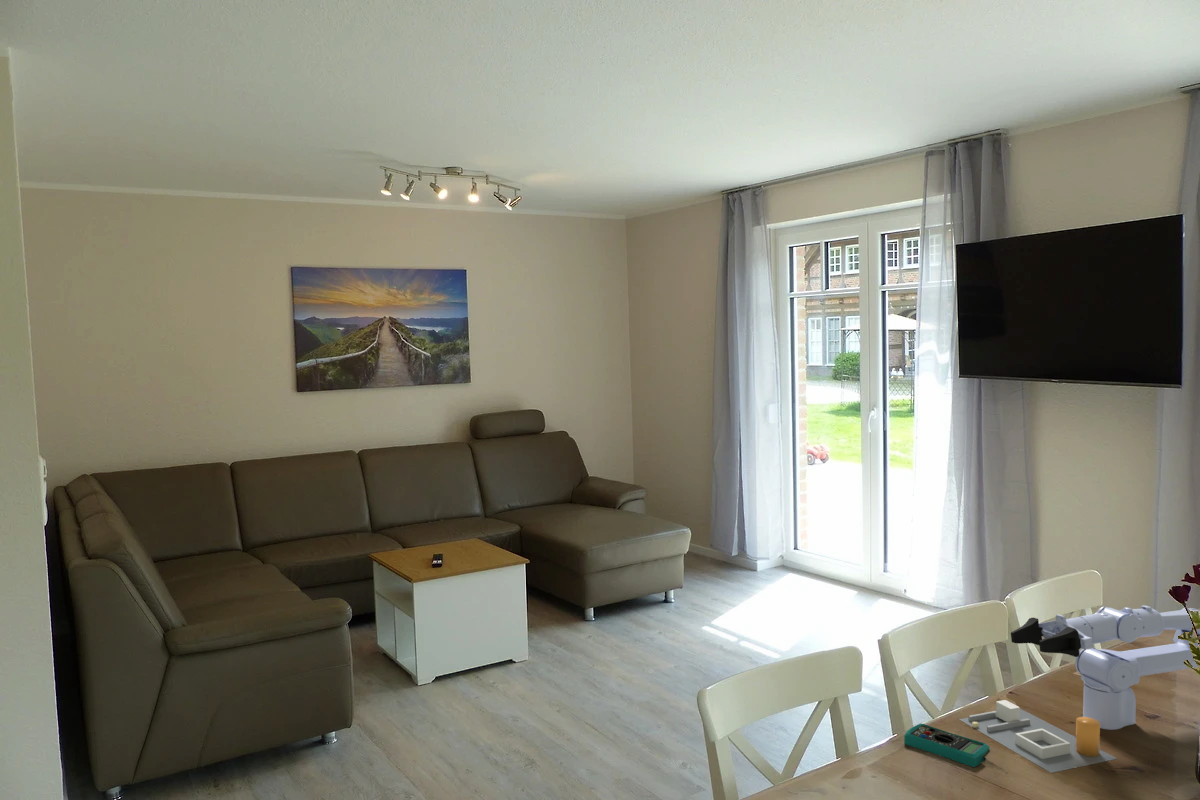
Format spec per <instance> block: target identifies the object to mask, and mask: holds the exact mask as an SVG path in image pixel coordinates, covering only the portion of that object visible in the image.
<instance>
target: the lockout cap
mask: <svg viewBox="0 0 1200 800" xmlns="http://www.w3.org/2000/svg"><path fill="white" fill-rule="evenodd" d="M1075 720H1076V721H1075V737H1076V751H1077V752H1078V753H1080V754H1082V755H1085V756H1090V757H1095V756H1098V755H1099V749H1100V745H1101V744H1100V743H1101V742H1100V738H1101V736H1100V735H1101V734H1100V733H1101V728H1100V722H1099V721H1097V720H1095V719H1092V718H1088V717H1083V716H1079V717H1076V719H1075Z"/></svg>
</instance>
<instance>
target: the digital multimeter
mask: <svg viewBox="0 0 1200 800" xmlns="http://www.w3.org/2000/svg"><path fill="white" fill-rule="evenodd" d="M903 738H904V742H903V743H904V745H906V746H909V747H912V748H915V749H918V750H922V751H925V752H927V753H931V754H934V755H938V756H940V757H942V758H945V759H949V760H952V761H955V762H957V763H959V764H963V765H965V766H968V767H972V768H976V767H978V766H979V765H981V764H982V763H984V761H986V760H987V757H985V755H986V754H987V753H988V752H989V751H990V745H988V744H987V743H985V742H983V741H979V740H977V739H976V740H975V739H973V738H968V737H965V736H962V735H958V734H956V733H952V732H949V731H946V730H942V729H939V728H937V727H934V726H931V725H928V724H925V723H919V724H917V725H914V726H912V727H910V728H909V729H908V730H906V731H905V733H904V737H903Z"/></svg>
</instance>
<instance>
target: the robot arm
mask: <svg viewBox="0 0 1200 800" xmlns="http://www.w3.org/2000/svg"><path fill="white" fill-rule="evenodd" d="M1140 607H1141V608H1131V607H1123V608H1122V609H1120V610H1119V609H1115V608H1113V607H1107V606H1106V605H1105V606H1102V607H1100V608H1098V610H1097V611H1096V612H1095V613H1092V614H1091V613H1090V614H1087V615H1081V616H1076V617H1071V618H1066V616H1065V615H1062V614H1056V615H1055V619H1054V620H1050V621H1044V622H1039V618H1036V617H1029V618H1028V619H1027V621H1026V622H1025V623H1024V624H1023V625H1021V626H1020V627H1018V628H1016V629H1014V630H1013V631H1011V632H1010V639H1011V642H1012V643H1014V644H1032V645H1035V646H1039V652H1042V653H1044V654H1045V653H1047V654H1063V655H1068V656H1072V657H1075V658H1074V665H1075V669H1076V671H1077V673H1078V674H1080V680H1081V681H1083V695H1082V696H1083V698H1082V699H1083V703H1082V717H1088V718H1092V719H1095V720H1097V721H1099V722H1100V729H1103V730H1120V729H1122V728H1124V727H1127V726H1131V725H1135V724H1136V714H1137V713H1136V710H1137V709H1136V708H1137V699H1136V694H1135V693H1134V691H1133V689H1132V688H1131V686H1134V685H1138V684H1139V683H1140V679H1141V677H1144V676H1151V675H1157V674H1164V673H1169V672H1175V671H1176V672H1177V671H1181V670H1189V669H1191V668H1188V667H1186V666H1185V665H1184V663H1183V662H1184V660H1189V661H1190V663H1191V665H1192V666H1193V667H1194V668H1193V669H1195V668H1199V667H1200V666H1197V664H1196V662H1195V661H1194V659H1193V655H1192V652H1191V650H1190V645H1189V641H1187V640H1181V639H1178V638H1177V637H1178V636H1179V635H1181V634H1183V633H1184V632H1191V630H1192V627H1193V624H1192V621H1191V619H1190V616H1189V614H1188V613H1187V611H1186V609H1185V608H1186V607H1182V609H1179V610H1177V609H1176V610H1171V611H1165V612H1159V611H1158V610H1156V609H1154V608H1153V607H1151V606H1150V605H1149V606H1148V605H1141V606H1140ZM1188 609H1189V610H1190V611H1193V612H1194V611H1200V610H1199V609H1198V608H1195V607H1194V608H1193V607H1189V608H1188ZM1164 630H1165V631H1168V630H1170V631H1173V630H1175V632H1174V636H1173V639H1172V641H1173V642H1174V643H1169V644H1163V645H1155V646H1148V647H1141V648H1135V649H1128V650H1122V651H1118V650H1113V649H1106V648H1101V649H1100V648H1095V647H1094V645H1095V644H1101V643H1105V642H1110V641H1115V640H1118V641H1121V642H1124V643H1130V644H1131V643H1133V642H1135V641H1136V640H1137V639H1139V638H1146V637H1147V638H1148V637H1158V636H1160V635H1161V634H1162V633H1163V631H1164ZM1197 635H1198V636H1200V629H1197ZM1190 637H1192V636H1191V635H1190ZM1194 644H1195V645H1196V646H1198V645H1200V644H1198V643H1194Z"/></svg>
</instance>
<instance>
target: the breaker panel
mask: <svg viewBox="0 0 1200 800" xmlns="http://www.w3.org/2000/svg"><path fill="white" fill-rule="evenodd" d="M958 720H959V721H961V722H963V723H964V724H965V725H967V726H969V727H971V728H973V729H974V730H976V731H977V732H979V733H981V734H983V735H985V736H986V737H988V738H990V739H991V740H993V741H995V742H996V743H999V744H1000V745H1001V746H1003V747H1006V748H1007V749H1009V750H1011V751H1012V752H1014V753H1015V754H1017V755H1019V756H1021V757H1023V758H1024V759H1026V760H1028V761H1030V762H1031V763H1033V764H1035V765H1037V766H1038V767H1040V768H1042V769H1044V770H1045V771H1047V772H1049V773H1050V774H1053V773H1057V772H1062V771H1063V772H1064V771H1067V770H1072V769H1076V768H1082V767H1086V766H1090V765H1091V766H1092V765H1094V764H1100V763H1105V762H1110V761H1113V760H1114V761H1115V760H1118V758H1117V757H1115V756H1114V755H1112V754H1109V753H1108V752H1106V751H1104V750H1102V749H1100V748H1099V755H1098V756H1095V757H1090V756H1085V755H1082V754H1080V753H1078V752H1077V751H1076V735H1073V734H1071V733H1069V732H1066V731H1065V730H1063V729H1061V728H1059V727H1057V726H1055V725H1053V724H1051V723H1049V722H1047V721H1046V720H1044V719H1041V718H1039V717H1037V716H1036V715H1034V714H1031V713H1030V712H1028V711H1026V710H1025V709H1022V708H1020V720H1017V721H1011V722H1006V721H1004V720H1002V719H1000V718H998V717H996V710H993V711H987V712H981V713H976V714H970V715H968V717H964V718H959V719H958Z"/></svg>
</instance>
